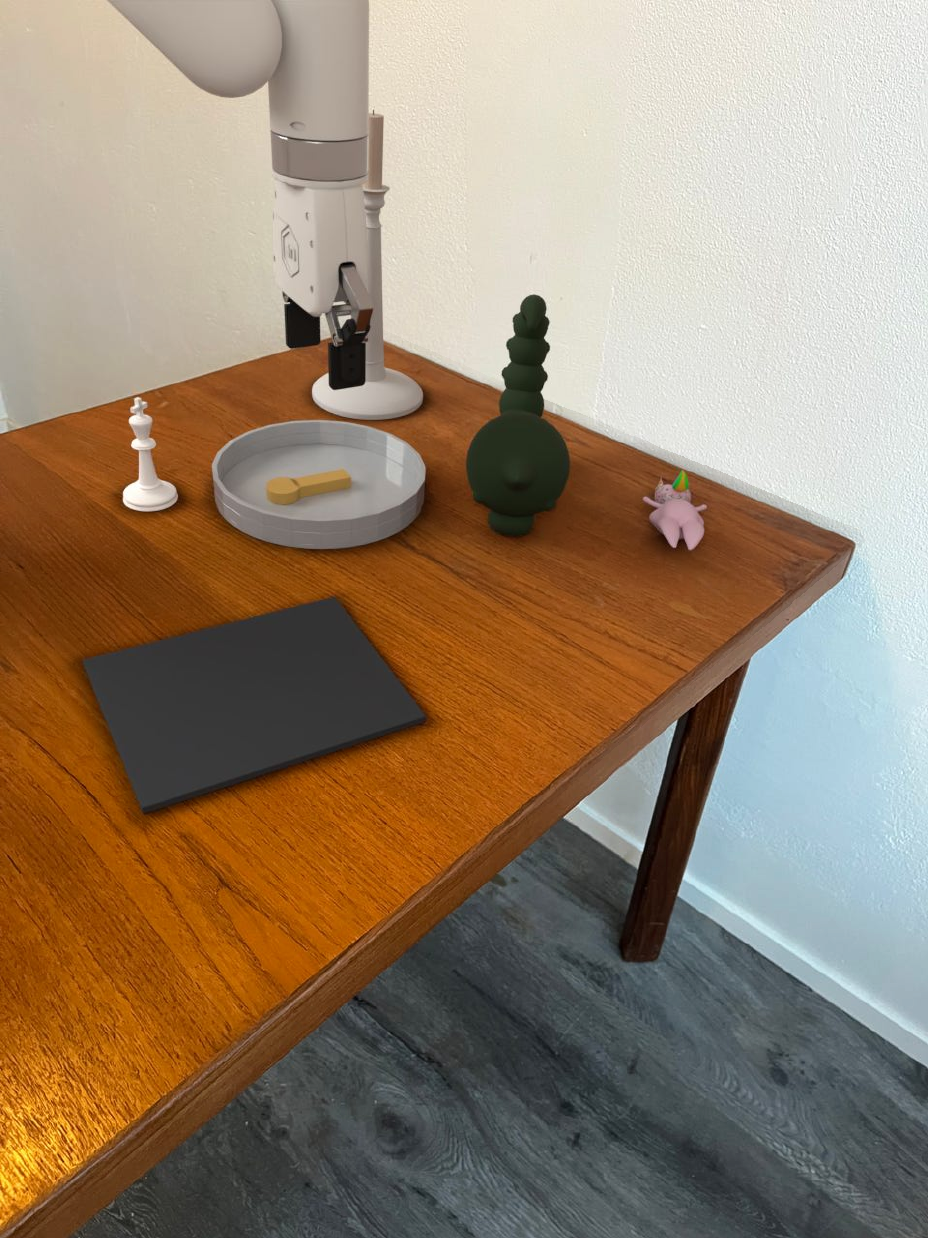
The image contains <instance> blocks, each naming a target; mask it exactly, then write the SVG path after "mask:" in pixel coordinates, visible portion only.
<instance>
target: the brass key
mask: <svg viewBox="0 0 928 1238" xmlns="http://www.w3.org/2000/svg"><path fill="white" fill-rule="evenodd" d="M348 488H351V477H350V476H349V474H348V473H347V472H346V471H345V470H344V469H341V470H336V471H331V472H325V473H320V474H315V475H309V476H304V477H299V478H294V479H292V478H286V477H280V478H275V479H272V480H270V481H268V482H267V484H266V497H267V499H268V500H269V501H270V502H272V503H275V504H282V505H284V504H291V503H294V502H296V501H298V500H299V499H300V498H302V497H307V496H312V495H317V494H322V493H327V492H332V491H337V490H342V489H348Z"/></svg>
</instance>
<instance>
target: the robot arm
mask: <svg viewBox="0 0 928 1238" xmlns="http://www.w3.org/2000/svg"><path fill="white" fill-rule="evenodd" d="M106 1H107V2H108V3H109V4H110V5H111V6H112V7H113V8H114V9H115V10H117V12H119V13H120V14H121V15H122V16H123V17H124V19H126V20H127V21H128V22H129V23H130V24H131V25H132V26H133V27H134V28H135V29H137V31H138V32H139V33H141V35H142V36H144V38H145V39H146V40H147V41H148V42H149V43H150V44H151V45H152V46H154V47H155V48H156V49H157V50H158V51H159V52H160V53H161V54H162V55H163V56H164V57H165V58H166V59H167V60H168V61H169V62H170V63H171V64H172V65H173V66H174V67H175V68H176V69H177V70H178V71H179V72H180V73H182V75H183V76H184V77H185V78H187V80H189V81H190V82H191V83H192V84H193V85H194V86H196V87H197V88H198V89H200V90H202V91H204V92H206V93H208V94H210V95H212V96H217V97H220V98H225V99H226V98H227V99H234V98H243V97H246V96H249V95H252V94H254V93H255V92H257V91H259V90H260V89H262V88H263V87H264V86H265V85H266V84H267V88H268V89H267V90H268V108H269V109H268V112H269V129H270V130H269V131H270V148H271V149H270V151H271V170H272V171H271V173H272V178H273V179H274V184H273V185H274V186H273V187H274V188H273V202H272V263H273V264H272V267H273V269H272V270H273V271H272V272H273V279H274V283H275V284H276V286H277V287H278V288H279V289H280V290H281V291H282V293H281V294H282V299H283V301H284V304H283V309H284V332H285V334H284V335H285V345H286V347H288V349H292V350H293V349H294V350H295V349H301V348H307V347H315V346H319V345H320V344H321V340H322V339H321V316H322V315H323V314H324V315H325V320H326V322H327V323H326V324H327V326H328V330H329V334H330V337H331V340H332V341H331V342H327V360H328V361H327V362H328V363H327V366H328V369H327V370H328V372H327V373H329V386H330V387H331V388H332V389H333V390H340V389H346V388H352V387H358V386H363V385H364V384H365V381H366V343H367V342H368V333H369V331H370V328H371V326H370V320H371V316H372V313H373V303H372V300H371V298H370V296H369V294H368V246H367V228H366V214H365V203H364V193H363V186H362V184H364V183H366V182H367V181H368V115H369V113H370V112H369V110H370V109H369V107H370V106H369V105H370V103H369V99H370V97H369V96H370V95H369V93H370V91H369V89H370V88H369V87H370V86H369V85H370V83H369V82H370V76H369V75H370V0H106ZM342 302H343V303H342ZM334 303H342V304H335V305H334ZM347 316H350V318H347V319H346V320H345V321H344V323H343V325H342V326H341V324H340V321H339V317H347Z"/></svg>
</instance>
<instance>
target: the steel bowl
mask: <svg viewBox="0 0 928 1238" xmlns="http://www.w3.org/2000/svg"><path fill="white" fill-rule="evenodd" d="M341 469H344V470H345V471H346V472H347V473H348V474H349V476H350V477H351V488H348V489H342V490H337V491H332V492H327V493H322V494H317V495H312V496H307V497H302V498H300V499H299V500H298V501H296V502H294V503H291V504H284V505H282V504H275V503H272V502H270V501H269V500H268V499H267V497H266V484H267V482H268V481H270V480H272V479H275V478H280V477H286V478H292V479H294V478H299V477H304V476H309V475H315V474H320V473H325V472H331V471H336V470H341ZM426 472H427V467H426V464H425V463H424V460H423V458H422V456H421V454H420V453H419V452H418V451H417V450H416V449H415V448H414V447H413V446H411V445H410V444H409V443H408V442H407V441H405V440H403V439H401V438H399V437H397V436H395V435H394V434H392V433H390V432H388V431H387V432H386V431H383V430H381V429H378V428H375V427H372V426H369V425H364V424H358V423H355V422H349V421H340V420H339V421H338V420H327V419H308V420H307V419H306V420H291V421H284V422H279V423H271V424H268V425H265V426H261V427H258V428H256V429H251V430H249V431H246V432H244V433H242V434H240V435H238V436H237V437H234V438H233V439H231V440H229V441H228V442H227V443H226V444H225V445H223V446H222V448H220V449H219V450H218V451H217V452H216V454H215V456H214V459H213V461H212V463H211V475H212V476H211V477H212V486H213V487H212V489H213V496H214V501H215V502H214V503H215V506H216V509H217V510H218V512H219V514H220V515H221V516H222V517H223V518H224V519H225V520H226V521H227V522H228V524H230V525H231V526H232V527H234V528H236V529H237V530H239V531H240V532H242V533H244V534H246V535H248V536H249V537H253V538H255V539H258V540H260V541H263V542H267V543H271V544H274V545H278V546H282V547H283V546H284V547H289V548H296V549H307V550H338V549H347V548H353V547H359V546H364V545H368V544H371V543H375V542H379V541H381V540H382V541H383V540H384V539H388V538H390V537H391V536H393V535H395V534H398V533H400V532H401V531H403V530H404V529H406V528H407V527H408V526H410V524H412V523H413V522H414V521H415V520H416V518H418V516H419V515H420V513H421V511H422V509H423V507H424V503H425V490H426V489H425V488H426Z"/></svg>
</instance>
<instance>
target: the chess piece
mask: <svg viewBox="0 0 928 1238" xmlns="http://www.w3.org/2000/svg"><path fill="white" fill-rule="evenodd" d="M133 401H134V405H133V406H131V407H130V408H129V410H130V413H131V414H134V415H131V416H130V417H129V418H128V424H129V426H130V428H131V429H132V431H133V434H134V435H135V438H134V439H133V440H132V441H131V444H130V446H131V448H132V449H133V450H135V451H138V479H137V480H136V481H134V482H132V483H130V484H128V485H127V486H126V487H125V488H124V490H123V491H122V502H123V505H125V507H127V508H128V509H131V510H134V511H137V512H148V513H149V512H157V511H163V510H165V509H167V508H170V507H172V506H173V505H174V504H175V503H176V502H177V501H178V498H179V494H178V492H177V488H176V486H175V485H173V484H172V483H171V482H168V481H166V480H164V479H163V480H162V479H160V478H159V477H158V476H157V471H156V468H155V465H154V461H153V456H152V452H151V450H152V449H155V447H156V446H157V443H156V440H155V439H153V438H152V437H150V435H151V428H152V425H153V418H152V417H151V416H150V415H148V414H145V413H144V410H145V409H147V408H148V402H147V401H144V400H142V397H139V396H137V397H135V398H133Z"/></svg>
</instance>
